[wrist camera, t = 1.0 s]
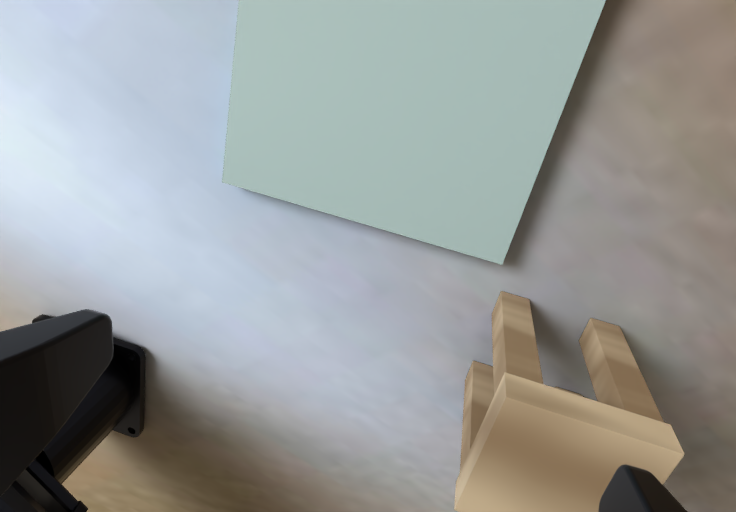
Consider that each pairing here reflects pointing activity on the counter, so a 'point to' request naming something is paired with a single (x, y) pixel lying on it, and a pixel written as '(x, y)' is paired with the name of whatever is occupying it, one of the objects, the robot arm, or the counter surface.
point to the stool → (555, 423)
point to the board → (404, 109)
